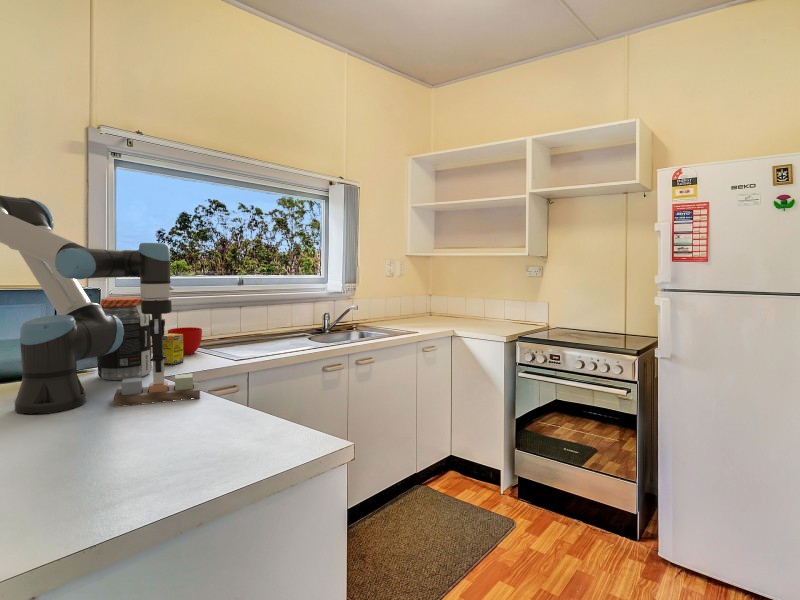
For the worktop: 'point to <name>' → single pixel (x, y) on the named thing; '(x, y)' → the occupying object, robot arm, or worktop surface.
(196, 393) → the wooden block tray
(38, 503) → the worktop surface
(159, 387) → the terracotta block
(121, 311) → the supplement tub
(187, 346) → the ceramic cup
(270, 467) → the worktop surface
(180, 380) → the sage block
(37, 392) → the robot arm
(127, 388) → the slate block
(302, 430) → the worktop surface
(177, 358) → the supplement box
